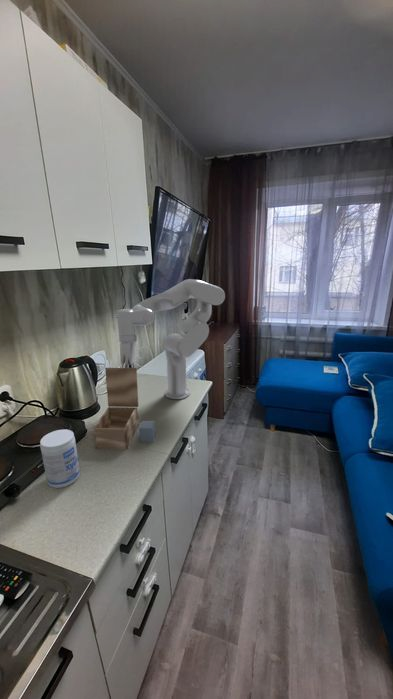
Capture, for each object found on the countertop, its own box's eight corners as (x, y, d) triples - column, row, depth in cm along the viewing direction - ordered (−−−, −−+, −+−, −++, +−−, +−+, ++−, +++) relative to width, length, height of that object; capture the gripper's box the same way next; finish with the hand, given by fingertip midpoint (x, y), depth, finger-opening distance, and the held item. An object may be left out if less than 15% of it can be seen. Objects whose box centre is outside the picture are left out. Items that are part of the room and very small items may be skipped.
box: (110, 424, 119) (108, 407, 117) (138, 424, 118) (137, 407, 116) (95, 448, 104) (92, 429, 101) (127, 448, 103) (125, 429, 101)
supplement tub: (75, 487, 86) (68, 446, 81) (42, 491, 84) (33, 449, 80) (83, 465, 95) (77, 427, 90) (53, 468, 94) (46, 430, 89)
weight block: (143, 434, 112) (142, 420, 110) (155, 434, 112) (154, 420, 110) (140, 441, 107) (139, 428, 105) (153, 442, 107) (152, 428, 105)
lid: (108, 406, 117) (109, 405, 118) (137, 407, 116) (138, 406, 117) (105, 368, 114) (106, 367, 115) (135, 368, 113) (136, 367, 114)
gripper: (124, 333, 131) (127, 370, 136) (113, 342, 116) (117, 383, 122) (140, 333, 130) (143, 370, 136) (131, 342, 116) (134, 383, 121)
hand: (131, 376), depth 129 cm, fingers closed
